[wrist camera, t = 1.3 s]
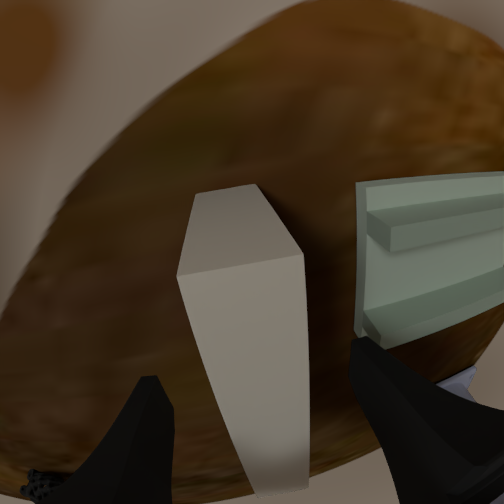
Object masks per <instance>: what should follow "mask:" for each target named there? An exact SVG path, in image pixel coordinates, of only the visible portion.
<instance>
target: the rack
mask: <svg viewBox="0 0 504 504" xmlns="http://www.w3.org/2000/svg"><path fill="white" fill-rule="evenodd" d="M356 203H357V276H356V301H355V318H354V331H355V333H356V335H357V336H358V338H360V337H364V336H368V337H369V338H371V339H372V340H373V341H374V342H376V343H377V344H378V345H380V346H381V347H382V348H383V349H385V350H386V349H389V348H392V347H395V346H398V345H401V344H404V343H407V342H410V341H412V340H415V339H418V338H421V337H424V336H426V335H429V334H432V333H434V332H437V331H439V330H442V329H444V328H447V327H449V326H452V325H454V324H457V323H459V322H461V321H464V320H466V319H468V318H471V317H473V316H475V315H478V314H480V313H482V312H484V311H486V310H488V309H491V308H493V307H495V306H497V305H499V304H501V303H503V302H504V267H503V265H504V171H502V172H478V173H460V174H444V175H431V176H418V177H407V178H396V179H385V180H376V181H366V182H357V183H356Z"/></svg>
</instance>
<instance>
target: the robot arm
mask: <svg viewBox="0 0 504 504" xmlns="http://www.w3.org/2000/svg"><path fill="white" fill-rule="evenodd" d="M475 372H476V367H475V366H472V367H470V368H468V369H466V370H464V371H462V372H460V373H458V374H456V375H454V376H452V377H450V378H448V379H446V380H444V381H442V382H440V383H437V384H434V383H432V382H431V381H429V380H427V379H426V378H424V377H423V376H421V375H419V374H418V373H416V372H415V371H413V370H412V369H410V368H409V367H408V366H406V365H405V364H403V363H402V362H401V361H399V360H398V359H397V358H395V357H394V356H393V355H391V354H390V353H389V352H387V351H386V350H385V349H383V348H382V347H381V346H380V345H378V344H377V343H376V342H374V341H373V340H372V339H371V338H369V337H368V336H364V337H360V338H357V339H353V340H352V344H351V355H350V365H349V374H348V377H349V379H350V382H351V385H352V388H353V391H354V393H355V396H356V398H357V400H358V402H359V404H360V406H361V408H362V410H363V412H364V414H365V416H366V418H367V420H368V421H369V423H370V425H371V427H372V429H373V431H374V433H375V435H376V437H377V439H378V441H379V443H380V445H381V447H382V449H383V452H384V455H385V457H386V460H387V463H388V466H389V469H390V472H391V475H392V478H393V481H394V484H395V488H396V491H397V495H398V499H399V503H400V504H504V410H499V409H495V408H491V407H488V406H485V405H481V404H478V403H477V402H476V401H475V400H474V398H473V397H472V396H471V394H470V393H469V392H468V390H467V389H468V387H469V385H470V383H471V381H472V379H473V377H474V374H475ZM174 434H175V428H174V408H173V406H172V404H171V402H170V401H169V399H168V397H167V395H166V393H165V391H164V389H163V387H162V385H161V383H160V381H159V379H158V377H157V375H154V376H143V377H141V378H140V380H139V381H138V383H137V385H136V386H135V388H134V390H133V392H132V393H131V395H130V397H129V398H128V400H127V402H126V404H125V405H124V407H123V409H122V410H121V412H120V413H119V415H118V417H117V418H116V420H115V422H114V423H113V425H112V426H111V428H110V429H109V431H108V432H107V434H106V435H105V436H104V438H103V439H102V441H101V442H100V443H99V445H98V446H97V447H96V449H95V450H94V451H93V453H92V454H91V455H90V456H89V457H88V459H87V460H86V461H85V462H84V463H83V464H82V465H81V466H80V467H79V468H78V469H77V470H76V471H75V472H74V473H73V474H72V475H71V476H70V477H69V478H68V479H67V480H66V481H65V482H64V483H63V484H61V485H60V486H59V487H58V488H57V489H55V490H54V491H53V492H52V493H50V494H49V495H48V496H46V497H45V498H43V499H42V500H40V501H39V502H37V503H36V504H172V494H171V475H172V460H173V447H174Z"/></svg>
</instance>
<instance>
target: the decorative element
mask: <svg viewBox="0 0 504 504" xmlns="http://www.w3.org/2000/svg"><path fill="white" fill-rule="evenodd" d="M27 478H28V480H29V483H28V485H27V486H25V485H23V486H21V488H20V493H21V494H22V495H23V496H25V497H29V498H30V499H31V501H32V502H34V503H35V504H36V503H37V502H39V501H40V500H42V499H43V498H45V497H46V496H48V495H49V494H50V493H52V492H53V491H54V490H55V489H57V488H58V487H59V486H60V485H61V484H63V483H64V482H65V481H64V480H62V479H60V478H58V477H56V476H53V475H48V474H45V473H39V472H37V471H36V470H34V469H30V470H29V472H28V476H27ZM44 485H46V486H45V487H44ZM43 487H44V488H43Z"/></svg>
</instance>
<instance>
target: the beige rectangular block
mask: <svg viewBox="0 0 504 504" xmlns="http://www.w3.org/2000/svg"><path fill="white" fill-rule="evenodd" d="M177 280H178V283H179V287H180V290H181V294H182V297H183V301H184V304H185V307H186V311H187V314H188V317H189V321H190V324H191V327H192V330H193V333H194V336H195V339H196V343H197V346H198V349H199V352H200V355H201V358H202V361H203V364H204V366H205V369H206V372H207V375H208V378H209V381H210V384H211V386H212V389H213V392H214V395H215V397H216V400H217V403H218V405H219V408H220V411H221V413H222V416H223V419H224V421H225V424H226V426H227V429H228V431H229V434H230V436H231V439H232V441H233V444H234V446H235V449H236V451H237V453H238V456H239V458H240V460H241V463H242V465H243V467H244V470H245V472H246V474H247V476H248V479H249V481H250V483H251V485H252V488H253V490H254V492H255V494H256V496H257V498H259V497H265V496H271V495H277V494H283V493H288V492H292V491H297V490H302V489H306V488H308V487H309V486H308V485H309V447H310V391H309V348H308V322H307V301H306V284H305V268H304V254H303V252H302V251H301V249H300V248H299V246H298V245H297V243H296V242H295V240H294V239H293V237H292V236H291V234H290V233H289V232H288V230H287V229H286V227H285V226H284V224H283V223H282V221H281V220H280V218H279V217H278V215H277V214H276V213H275V211H274V210H273V208H272V207H271V205H270V204H269V202H268V201H267V200H266V198H265V197H264V195H263V194H262V192H261V191H260V190H259V188H258V187H257V185H256V184H252V185H246V186H239V187H233V188H228V189H222V190H216V191H210V192H205V193H200V194H196V195H195V199H194V203H193V207H192V211H191V215H190V219H189V224H188V228H187V232H186V236H185V240H184V245H183V249H182V254H181V258H180V263H179V267H178V272H177Z"/></svg>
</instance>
